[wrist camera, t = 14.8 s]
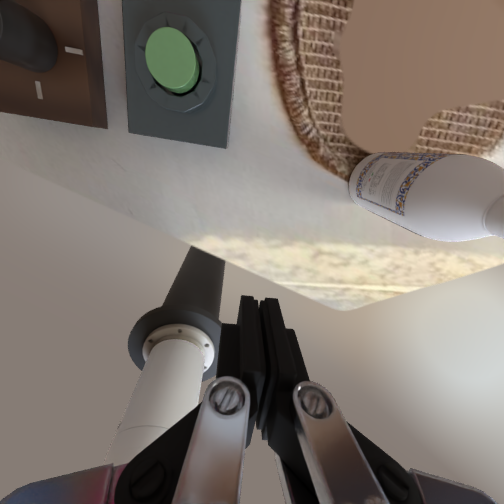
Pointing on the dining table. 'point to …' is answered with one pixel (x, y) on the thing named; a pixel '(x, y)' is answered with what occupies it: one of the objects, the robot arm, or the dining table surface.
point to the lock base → (61, 69)
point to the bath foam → (433, 193)
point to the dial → (25, 38)
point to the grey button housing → (210, 70)
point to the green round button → (172, 60)
